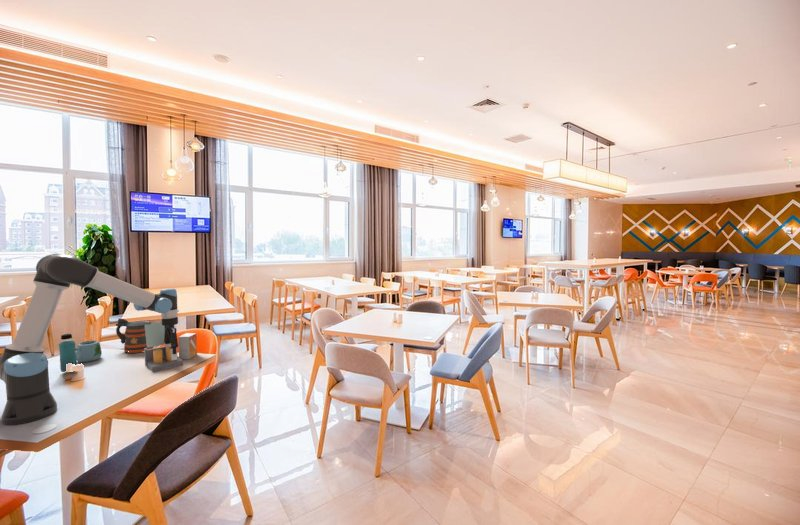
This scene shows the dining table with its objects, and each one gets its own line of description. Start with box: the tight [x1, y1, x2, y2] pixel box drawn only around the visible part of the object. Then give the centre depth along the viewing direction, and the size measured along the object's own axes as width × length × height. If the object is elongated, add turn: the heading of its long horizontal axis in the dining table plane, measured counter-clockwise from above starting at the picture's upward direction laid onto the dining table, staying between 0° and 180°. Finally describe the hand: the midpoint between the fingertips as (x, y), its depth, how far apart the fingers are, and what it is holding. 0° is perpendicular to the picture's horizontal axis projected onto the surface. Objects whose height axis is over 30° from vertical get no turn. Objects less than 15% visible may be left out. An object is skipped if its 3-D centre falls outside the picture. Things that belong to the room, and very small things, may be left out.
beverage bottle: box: [58, 333, 78, 373], centre depth 183 cm, size 6×7×20 cm
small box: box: [177, 332, 198, 360], centre depth 208 cm, size 8×6×13 cm
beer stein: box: [115, 318, 154, 354], centre depth 220 cm, size 19×15×20 cm
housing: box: [143, 345, 184, 372], centre depth 195 cm, size 15×14×10 cm
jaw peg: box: [166, 347, 173, 362], centre depth 197 cm, size 4×4×9 cm
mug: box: [76, 340, 103, 363], centre depth 201 cm, size 15×11×10 cm
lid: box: [145, 321, 165, 348], centre depth 200 cm, size 12×12×1 cm
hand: (171, 357), depth 196 cm, fingers open, 10 cm apart
